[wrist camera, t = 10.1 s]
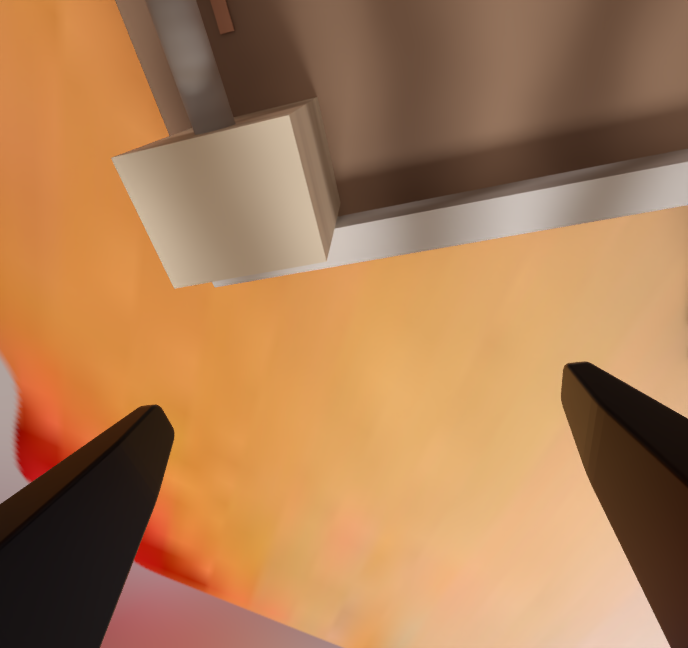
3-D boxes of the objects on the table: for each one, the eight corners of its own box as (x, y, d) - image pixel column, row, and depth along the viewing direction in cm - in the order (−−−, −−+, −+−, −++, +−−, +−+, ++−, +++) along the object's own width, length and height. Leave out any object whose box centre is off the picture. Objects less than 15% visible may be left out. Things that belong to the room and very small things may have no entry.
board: (760, -304, 11) (898, -434, 8) (668, 179, 18) (725, 203, 15) (111, -78, 15) (44, -112, 12) (238, 259, 21) (216, 291, 18)
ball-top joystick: (274, -99, 13) (207, -204, 7) (340, 203, 17) (326, 261, 12) (128, -49, 13) (-22, -116, 8) (230, 225, 18) (174, 288, 13)
